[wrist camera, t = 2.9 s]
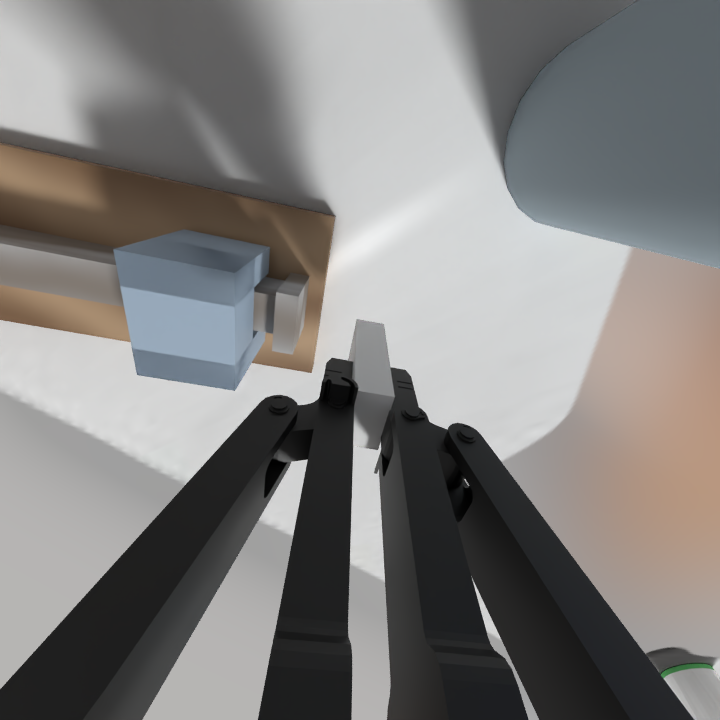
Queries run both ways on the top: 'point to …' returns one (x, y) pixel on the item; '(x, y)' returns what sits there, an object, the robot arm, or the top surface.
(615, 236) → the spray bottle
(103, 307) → the rail board
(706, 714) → the cup
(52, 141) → the top surface
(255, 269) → the slider
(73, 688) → the robot arm
